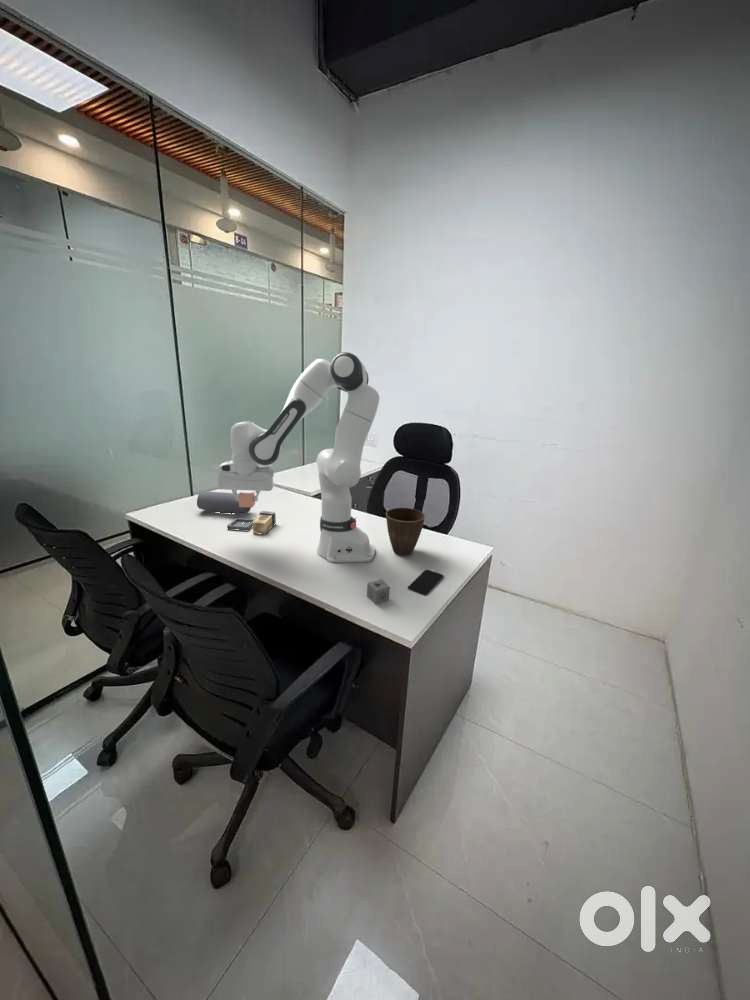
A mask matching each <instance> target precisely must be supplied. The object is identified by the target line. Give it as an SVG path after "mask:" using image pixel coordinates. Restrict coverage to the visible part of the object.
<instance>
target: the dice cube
mask: <svg viewBox="0 0 750 1000" xmlns="http://www.w3.org/2000/svg"><path fill="white" fill-rule="evenodd" d="M390 590H391V586H390V585H389V584H388V583H386V581H384V580H383V579H382V578H380V579H375V580H373V581H369V582H367V590H366V597H367V598H368V599H369V600H370V601H371V602H372V603H373V604H374V605H375V606H376V605H379V604H382V603H386V602H389V601H390V595H391V591H390Z"/></svg>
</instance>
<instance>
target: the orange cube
mask: <svg viewBox="0 0 750 1000" xmlns="http://www.w3.org/2000/svg"><path fill="white" fill-rule="evenodd" d="M237 494H238V498H239V507H251V508H253V507H255V506H256V505H255V504H256V501H253V497H254V496H256V492H255V491H247V490H240V492H239V493H237Z"/></svg>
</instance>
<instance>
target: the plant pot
mask: <svg viewBox="0 0 750 1000" xmlns="http://www.w3.org/2000/svg"><path fill="white" fill-rule="evenodd" d="M385 516H386V520H385V521H386V526H387V534H388V537H389V542H390V545H391V549H392V551H393V553H394V555H397V556H401V557H406V556H410V555H412V554H413V551H414V550H415V548H416V545H417V543H418V541H419V538H420V536H421V532H422V530H423V528H424V527H423V526H424V523H425V518H426V515H425V514H424V512H423V511H421V510H419V509H415V508H410V507H395V508H394V507H393V508H390V509H388V510H387V511H386V512H385Z"/></svg>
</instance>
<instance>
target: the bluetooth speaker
mask: <svg viewBox="0 0 750 1000" xmlns="http://www.w3.org/2000/svg"><path fill="white" fill-rule="evenodd" d="M196 507H197V508H198V509H199V510H203V511H209V512H213V513H214V512H220V513H231V514H232V513H236V514H248V513H249V512H250V511H251V509H252V507H239V501H236V497H235V496H234V494H233V493H232V492H223V491H200V492H199V493H198V495H197V497H196Z"/></svg>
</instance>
